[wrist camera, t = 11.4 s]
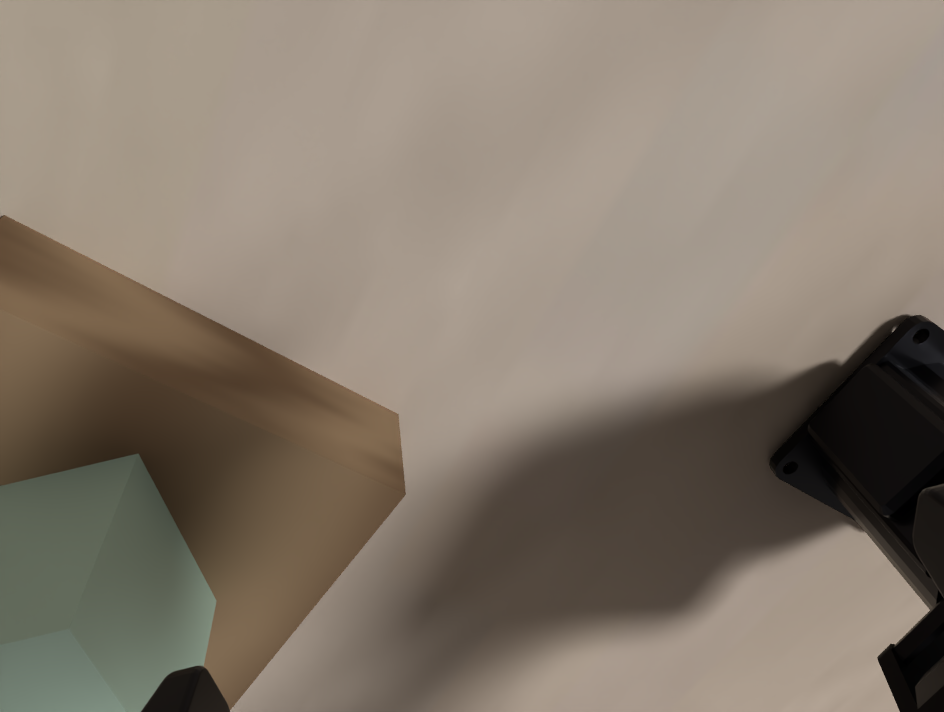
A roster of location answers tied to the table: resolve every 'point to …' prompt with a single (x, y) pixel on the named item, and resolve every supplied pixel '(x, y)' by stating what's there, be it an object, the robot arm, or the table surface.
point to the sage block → (95, 591)
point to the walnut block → (194, 437)
